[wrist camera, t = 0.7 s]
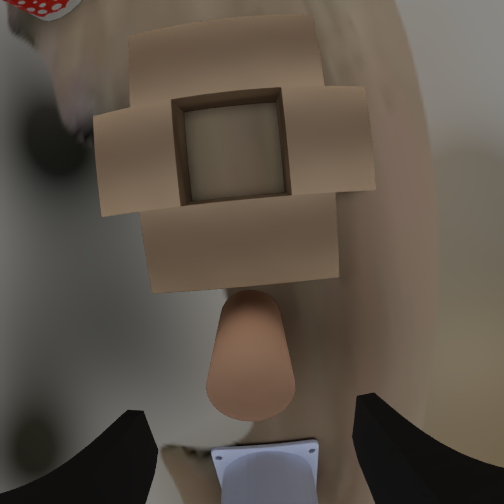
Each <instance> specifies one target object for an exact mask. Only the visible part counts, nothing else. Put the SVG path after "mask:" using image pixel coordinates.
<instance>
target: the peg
mask: <svg viewBox="0 0 504 504" xmlns="http://www.w3.org/2000/svg"><path fill="white" fill-rule="evenodd" d="M206 386H207V387H206V389H207V394H208V397H209V399H210V401H211V403H212V404H213V405H214V406H215V407H216V409H217V410H219V411H220V412H221V413H223V414H224V415H227V416H228V417H231V418H233V419H237V420H241V421H261V420H265V419H268V418H271V417H273V416H276V415H277V414H279V413H280V412H282V411H283V410H284V409H285V408H286V407H287V406H288V405H289V404H290V402H291V401H292V399H293V397H294V393H295V379H294V375H293V370H292V365H291V361H290V356H289V351H288V347H287V342H286V337H285V333H284V328H283V323H282V319H281V314H280V310H279V307H278V305H277V304H276V302H275V301H274V300H273V299H272V298H271V297H270V296H268V295H267V294H265V293H263V292H260V291H255V290H246V291H242V292H239V293H236V294H234V295H233V296H231V297H230V298H229V299H228V300H227V301H226V302H225V304H224V306H223V308H222V311H221V315H220V320H219V325H218V330H217V334H216V339H215V344H214V349H213V354H212V359H211V364H210V369H209V374H208V379H207V385H206Z"/></svg>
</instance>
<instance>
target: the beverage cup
mask: <svg viewBox="0 0 504 504" xmlns="http://www.w3.org/2000/svg"><path fill="white" fill-rule="evenodd" d="M3 1H5V2H7V3H9V4H11V5H13V6H15V7H18V8H20V9H22V10H24V11H26V12H28V13H29V14H31V15H33V16H35V17H37V18H39V19H41V20H45V21H52V20H56V19H59V18H61V17H63V16H64V15H66V14H68V13H69V12H71V11H72V10H73V9H74V8H75V7H76V6H77V5H78V4H79V3H80V2H81V1H82V0H3Z"/></svg>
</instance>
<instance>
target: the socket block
mask: <svg viewBox="0 0 504 504" xmlns="http://www.w3.org/2000/svg"><path fill="white" fill-rule="evenodd" d="M129 93H130V108H125V109H121V110H117V111H113V112H109V113H105V114H101V115H97V116H93V125H94V143H95V157H96V169H97V179H98V189H99V197H100V206H101V213H102V217H105V216H112V215H119V214H126V213H133V212H139V213H140V221H141V228H142V234H143V241H144V248H145V254H146V261H147V266H148V272H149V278H150V283H151V289H152V293H153V294H157V293H171V292H185V291H198V290H211V289H223V288H235V287H246V286H257V285H268V284H278V283H289V282H299V281H308V280H318V279H327V278H336V277H339V251H338V226H337V208H336V192H349V191H367V190H376V185H375V170H374V158H373V147H372V137H371V128H370V119H369V111H368V104H367V97H366V90H365V87H360V86H324V79H323V72H322V65H321V59H320V52H319V46H318V41H317V35H316V29H315V24H314V19H313V14H279V15H257V16H243V17H232V18H222V19H214V20H206V21H199V22H193V23H187V24H181V25H175V26H170V27H165V28H160V29H156V30H151V31H147V32H143V33H138V34H134V35H131V36H129ZM268 102H276V106H277V115H278V125H279V135H280V145H281V155H282V166H283V176H284V188H285V193H274V194H263V195H252V196H241V197H231V198H221V199H212V200H203V201H194V202H192V197H191V188H190V178H189V168H188V158H187V147H186V136H185V124H184V112H187V111H193V110H200V109H208V108H216V107H224V106H234V105H244V104H255V103H268Z"/></svg>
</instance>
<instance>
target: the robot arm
mask: <svg viewBox="0 0 504 504" xmlns="http://www.w3.org/2000/svg"><path fill="white" fill-rule="evenodd" d="M352 438H353V443H354V447H355V451H356V454H357V458H358V462H359V464H360V467H361V469H362V472H363V474H364V477H365V479H366V481H367V484H368V486H369V489H370V491H371V494H372V496H373V499H374V501H375V504H504V468H503V467H498V466H495V465H491V464H488V463H485V462H482V461H479V460H477V459H474V458H471V457H469V456H466V455H464V454H461V453H459V452H457V451H455V450H453V449H451V448H450V447H448V446H446V445H444V444H442V443H440V442H439V441H437V440H435V439H434V438H432V437H431V436H429V435H427V434H426V433H424V432H423V431H421V430H420V429H419V428H417V427H416V426H415V425H413V424H412V423H411V422H409V421H408V420H407V419H405V418H404V417H403V416H401V415H400V414H399V413H398V412H397V411H395V410H394V409H393V408H392V407H391V406H389V405H388V404H387V403H386V402H385V401H383V400H382V399H381V398H380V397H379V396H377V395H376V394H375V393H369V394H364V395H359V396H357V399H356V409H355V418H354V426H353V434H352ZM310 449H311V450H310ZM318 449H319V445H318V441H317V440H314V439H311V440H304V441H296V442H287V443H277V444H266V445H252V446H231V447H214V448H213V449H212V451H211V455H212V458H213V462H214V465H215V469H216V472H217V476H218V479H219V482H220V486H221V489H222V494H221V504H319V503H318V498H317V492H316V483H317V468H318ZM157 455H158V448H157V445H156V443H155V441H154V438H153V435H152V433H151V430H150V427H149V425H148V422H147V420H146V417H145V414H144V411H139V410H138V411H137V410H127V411H126V412H125V413H124V414H122V415H121V416H120V417H119V418H118V419H117V420H116V421H115V422H114V423H113V424H112V425H110V426H109V427H108V428H107V429H106V430H105V431H104V432H103V433H102V434H101V435H100V436H99V437H97V438H96V439H95V440H94V441H93V442H92V443H91V444H89V445H88V446H87V447H85V448H84V449H83V450H82V451H80V452H79V453H78V454H77V455H75V456H74V457H73V458H71V459H70V460H69V461H67V462H66V463H64V464H63V465H61V466H60V467H58V468H57V469H55V470H53V471H52V472H50V473H48V474H46V475H45V476H43V477H41V478H39V479H37V480H34V481H32V482H30V483H28V484H26V485H24V486H21V487H19V488H16V489H13V490H10V491H7V492H4V493H1V494H0V504H145V503H146V500H147V496H148V494H149V490H150V487H151V484H152V481H153V477H154V474H155V468H156V463H157ZM218 456H221V457H218Z"/></svg>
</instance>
